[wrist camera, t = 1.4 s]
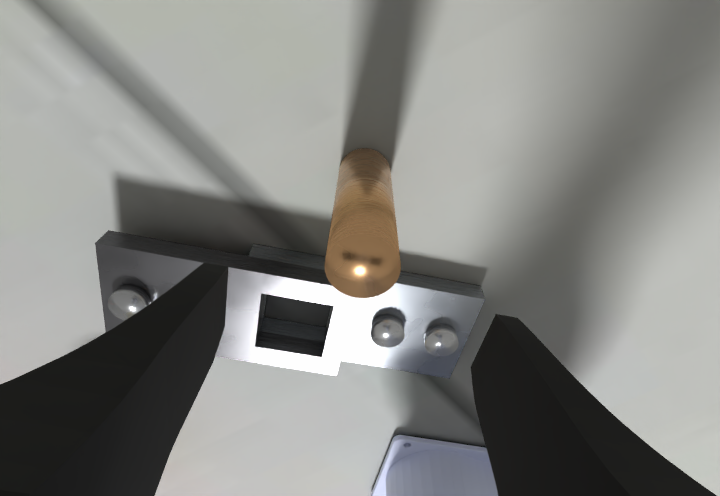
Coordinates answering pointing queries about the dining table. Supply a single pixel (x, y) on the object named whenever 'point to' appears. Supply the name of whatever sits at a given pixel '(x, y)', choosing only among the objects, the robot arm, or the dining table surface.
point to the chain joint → (301, 282)
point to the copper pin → (363, 228)
